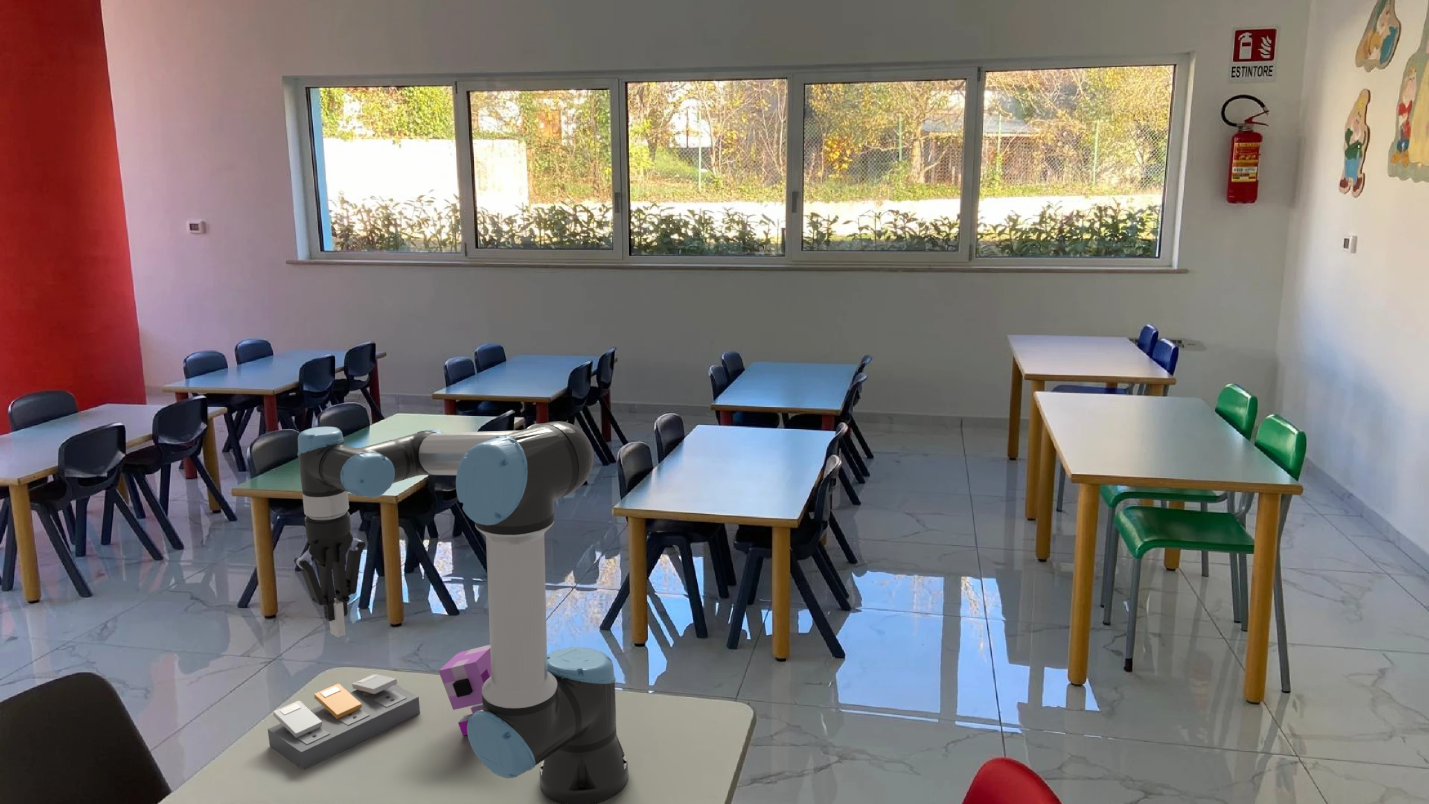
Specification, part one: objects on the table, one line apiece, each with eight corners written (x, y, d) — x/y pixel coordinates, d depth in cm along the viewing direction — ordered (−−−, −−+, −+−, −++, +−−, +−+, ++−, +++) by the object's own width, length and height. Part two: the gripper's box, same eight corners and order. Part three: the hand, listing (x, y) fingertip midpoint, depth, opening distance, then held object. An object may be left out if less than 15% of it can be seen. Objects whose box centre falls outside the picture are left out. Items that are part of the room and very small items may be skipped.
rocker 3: (397, 683, 192) (396, 678, 192) (374, 694, 188) (373, 688, 188) (375, 678, 197) (374, 673, 197) (352, 688, 193) (351, 683, 193)
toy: (500, 739, 180) (472, 665, 178) (462, 747, 182) (435, 674, 180) (523, 711, 190) (497, 640, 188) (487, 719, 192) (461, 649, 190)
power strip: (420, 713, 191) (418, 693, 190) (303, 769, 173) (300, 748, 172) (385, 693, 198) (383, 674, 198) (269, 746, 180) (267, 725, 179)
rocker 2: (361, 708, 186) (361, 703, 185) (337, 719, 182) (337, 714, 182) (338, 687, 190) (338, 682, 190) (314, 698, 187) (314, 693, 186)
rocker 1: (322, 726, 180) (322, 721, 179) (296, 737, 176) (296, 732, 176) (299, 704, 184) (299, 699, 184) (273, 715, 181) (273, 710, 180)
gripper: (348, 499, 183) (358, 616, 188) (281, 518, 173) (293, 640, 178) (371, 508, 178) (380, 627, 184) (303, 528, 168) (315, 653, 174)
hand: (338, 633), depth 181 cm, fingers closed
